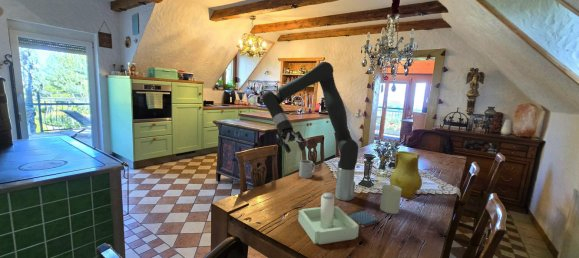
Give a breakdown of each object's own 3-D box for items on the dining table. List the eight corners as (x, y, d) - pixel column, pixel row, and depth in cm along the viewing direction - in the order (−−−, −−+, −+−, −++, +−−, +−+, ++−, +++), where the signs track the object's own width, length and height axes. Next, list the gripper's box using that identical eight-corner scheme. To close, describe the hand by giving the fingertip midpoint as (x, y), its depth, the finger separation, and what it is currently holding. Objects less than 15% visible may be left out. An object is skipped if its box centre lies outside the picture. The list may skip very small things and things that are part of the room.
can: (398, 207, 133) (401, 185, 131) (399, 215, 125) (402, 191, 123) (379, 204, 136) (382, 182, 134) (379, 211, 127) (382, 188, 126)
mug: (302, 178, 168) (303, 163, 167) (296, 174, 176) (297, 160, 174) (318, 177, 173) (319, 162, 172) (312, 172, 181) (313, 159, 179)
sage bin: (335, 215, 121) (336, 205, 120) (358, 238, 103) (360, 226, 102) (297, 219, 115) (298, 209, 114) (315, 245, 97) (316, 232, 96)
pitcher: (387, 195, 147) (394, 152, 144) (388, 186, 164) (394, 148, 161) (421, 202, 141) (428, 158, 138) (417, 192, 158) (424, 152, 155)
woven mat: (362, 213, 126) (362, 209, 125) (379, 223, 117) (380, 219, 116) (346, 218, 120) (346, 213, 120) (363, 229, 111) (363, 224, 111)
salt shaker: (328, 222, 112) (330, 191, 110) (335, 228, 107) (337, 196, 105) (317, 224, 110) (319, 193, 108) (323, 230, 105) (325, 198, 103)
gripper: (274, 119, 122) (288, 148, 115) (297, 118, 131) (311, 145, 125) (268, 129, 127) (281, 157, 120) (290, 127, 136) (303, 153, 129)
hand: (296, 151), depth 122 cm, fingers open, 8 cm apart
